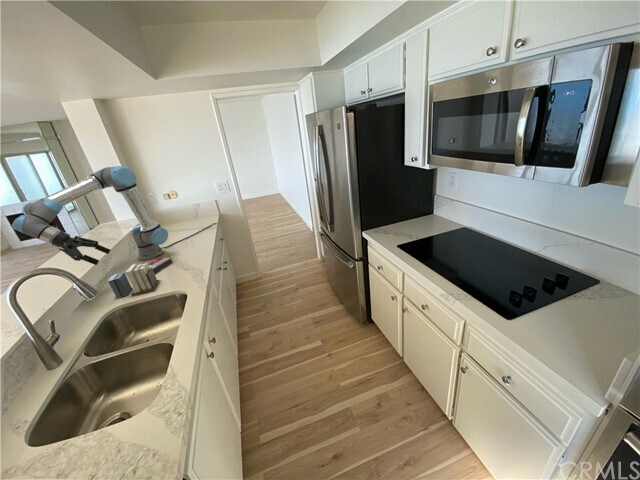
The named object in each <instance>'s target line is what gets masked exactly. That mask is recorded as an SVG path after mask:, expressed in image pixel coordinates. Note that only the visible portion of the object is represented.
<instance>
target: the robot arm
mask: <svg viewBox="0 0 640 480" xmlns="http://www.w3.org/2000/svg"><path fill="white" fill-rule="evenodd" d="M136 181H137V176H136V174H135V172H134V171H133V170H132V169H131V168H129V167H128V166H127V167H126V166H122V165H121V166H120V165H118V166H107V167H104V168H101V169H99V170H97V171H96V172H93V173H91V174H89V175H87V178H84V179H82V180H80V181H78V182H76V183H74V184H72V185H69V186H66V187H65V188H62V189H60V190H58V191H56V192H53V193H50V194H49V195H47V196H45V197H43V198H40V199H38V200H36V201H33V202H28V203H26V204H24V205H23V206H22V207H21V212H22V213H23V214H21V215H19V216H18V217H16V218H15V219H14V220H13V222H12V225H11V228H12V229H13V230H15V231H17V232H20V233H22V234H24V235H26V236H29V237H31V238H35V239H37V240H40V241H43V242H44V243H47V244H51V246H55V247H57V248H58V250H59V251H60V252H63V253H65V255H67V256H68V257H69V258H71V259H73V261H76V262H80V261H85V262H86V263H90V264H91V265H94V266H97V265H98V264H99V262H100V260H99V259H97V258H95V257H92V256H90V255H87V254H83V253H82V252H81V251H80V250H79V249H78V248H81V247H84V248H93V249H94V250H97V251H99V252H101V253H104V254H106V255H109V254H110V252H111V249H110V248H108V247H105V246H103V245H100V244H99V243H100V242H99V241H98V240H95V239H89V238H85V237H81V236H78V235H74V237H71V234H70V233H67V232H65V231H62V230H60V229H58V228H56V227H53V226H51V225H49V224H50V223H51V222H52V221H53V220H54V219H55V218H57V216H59V214H60V213H61V212H62V210H63V209H64V207H65V206H67V205H69V204H71V203H74V202H75V201H76V200H79V199H81V198H83V197H85V196H87V195H89V194H91V193H93V192H95V191H97V190H98V191H102V190H104V189H107V188H111V187H112V188H113V189H114V191H115V193H117V194H119V195H120V194H121V197H122V199H123V200H124V201H125V203H126V205H127V206H128V208H129V209H130V211H131V213H132V214H133V216H134V218H135V219H136V221H137V222H138V224H139V225H136V226H134V227H132V228H130V234H131V235H132V238H133V240H134V242H135V245H136V247H137V252H138V253H137V256H138V259H139V260H141V261H148V260H152V259H156V258H158V257H160V256H161V255H162V254H163V253H164V251H163V249H167V248H169V247H172V246H173V245H175V244H178V243H179V242H182V241H185V240H186V239H189V238H191V237H192V236H195V235H197V234H199V233H200V232H202V231H204V230H206V229H208V228H210V227H212V226H213V225H217V224H218V223H217V222H213V223H212V224H209V225H208V226H206V227H205V228H203V229H201V230H199V231H197V232H195V233H193V234H191V235H189V236H186V237H184V238H182V239H179V240H177V241H175V242H173V243H171V244H169V245H167V246H163V247H160V245H163V244H165V243H167V241H168V239H169V232H168V230H167V229H166V228H164V227H162V226H161V224H160V222H157V221H155V219H154V217H153V216H152V213H151V212H150V210H149V209H148V207H147V205H146V203H145V202H144V199H143V198H142V197H141V195H140V193H139V191H138V189H137V186H138V185H137V183H136Z"/></svg>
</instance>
